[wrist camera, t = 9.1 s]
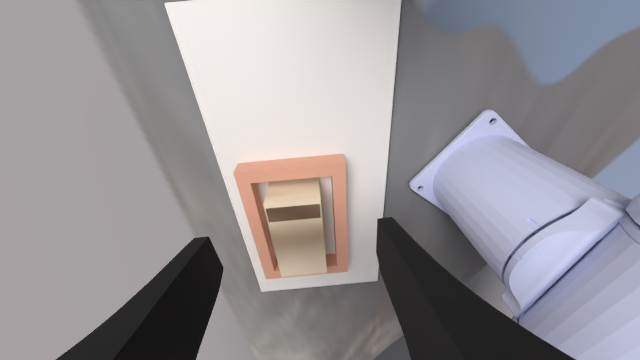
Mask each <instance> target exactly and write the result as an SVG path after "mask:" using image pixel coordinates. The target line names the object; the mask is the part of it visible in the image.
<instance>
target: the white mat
mask: <svg viewBox="0 0 640 360" xmlns="http://www.w3.org/2000/svg"><path fill="white" fill-rule="evenodd" d="M164 4H165V7H166V10H167V13H168V16H169V19H170V22H171V25H172V28H173V31H174V34H175V37H176V39H177V42H178V45H179V48H180V51H181V54H182V57H183V60H184V63H185V66H186V69H187V72H188V75H189V78H190V81H191V84H192V87H193V90H194V93H195V96H196V99H197V102H198V105H199V108H200V111H201V114H202V116H203V119H204V122H205V125H206V128H207V131H208V134H209V137H210V140H211V143H212V146H213V149H214V152H215V155H216V158H217V161H218V164H219V167H220V170H221V173H222V176H223V179H224V182H225V185H226V188H227V190H228V193H229V196H230V199H231V202H232V205H233V208H234V211H235V214H236V217H237V220H238V223H239V226H240V229H241V232H242V235H243V238H244V241H245V244H246V247H247V250H248V253H249V256H250V259H251V262H252V265H253V267H254V270H255V273H256V276H257V279H258V282H259V285H260V288H261V291H262V292H264V291H275V290H285V289H296V288H307V287H317V286H328V285H339V284H349V283H360V282H371V281H378V270H379V263H378V258H377V254H376V240H377V219H379V218H383V210H384V198H385V187H386V175H387V163H388V151H389V139H390V127H391V115H392V104H393V92H394V80H395V68H396V56H397V44H398V33H399V21H400V9H401V0H194V1H182V2H171V3H164ZM331 154H343V156H344V159H345V162H346V207H347V257H348V272H339V273H329V274H318V275H307V276H296V277H286V278H275V279H266V278H265V275H264V271H263V268H262V265H261V262H260V258H259V255H258V252H257V249H256V245H255V242H254V239H253V236H252V233H251V229H250V226H249V223H248V220H247V216H246V213H245V210H244V207H243V203H242V200H241V197H240V194H239V190H238V187H237V184H236V181H235V177H234V174H233V172H234V170H235V168H236V166H237V164H238V163H243V162H254V161H265V160H276V159H287V158H298V157H309V156H320V155H331ZM268 183H269V182H259V183H257V186H258V190H259V194H260V198H261V202H262V206H263V210H264V214H265V218H266V222H267V225H268V221H267V217H266V213H265V209H264V205H263V204H264V200H265V196H266V191H267V187H268ZM319 187H320V198H321V209H322V220H323V232H324V243H325V254H336V253H335V236H334V219H333V202H332V185H331V176H325V177H319ZM268 229H269V225H268ZM269 233H270V229H269ZM270 237H271V233H270ZM271 241H272V237H271ZM272 245H273V241H272ZM273 249H274V245H273ZM274 253H275V249H274ZM275 257H276V253H275ZM276 259H277V257H276Z"/></svg>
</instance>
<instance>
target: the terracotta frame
mask: <svg viewBox="0 0 640 360" xmlns="http://www.w3.org/2000/svg"><path fill="white" fill-rule="evenodd" d="M233 174H234V177H235V181H236V184H237V187H238V190H239V194H240V197H241V200H242V203H243V207H244V210H245V213H246V216H247V220H248V223H249V226H250V229H251V233H252V236H253V239H254V242H255V245H256V249H257V252H258V255H259V258H260V262H261V265H262V268H263V271H264V275H265V278H266V279H275V278H286V277H281V273H280V269H279V265H278V261H277V259H276V257H275V253H274V249H273V245H272V241H271V237H270V233H269V229H268V225H267V222H266V218H265V214H264V210H263V206H262V202H261V198H260V194H259V190H258V186H257V183H259V182H270V181H281V180H292V179H303V178H314V177H325V176H331V185H332V202H333V219H334V236H335V253H336V254H326V265H327V273H320V274H329V273H339V272H348V257H347V207H346V162H345V159H344V156H343V154H331V155H320V156H309V157H298V158H287V159H276V160H265V161H254V162H243V163H238V164H237V166H236V168H235V170H234V172H233ZM310 275H318V274H310ZM299 276H307V275H299ZM288 277H296V276H288Z"/></svg>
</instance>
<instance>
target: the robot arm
mask: <svg viewBox="0 0 640 360" xmlns="http://www.w3.org/2000/svg"><path fill="white" fill-rule="evenodd" d="M491 119H493V121H492V122H491V123H489V122H490V120H491ZM419 186H421V188H418V187H419ZM409 187H410V188H411V189H412V190H413V191H415V192H416V193H418V194H419V195H420V196H422V197H423V198H425V199H426V200H428V201H429V202H431V203H432V204H434V205H435V206H437V207H438V208H440V209H441V210H443V211H444V212H445V213H447V214H448V215H449V216H450V217H451V218H452V220H453V221H454V222H455V223H456V225H457V226H458V227H459V228H460V230H461V231H462V232H463V233H464V235H465V236H466V237H467V238H468V240H469V241H470V242H471V244H472V245H473V246H474V247H475V249H476V250H477V251H478V252H479V254H480V255H481V256H482V257H483V259H484V260H485V261H486V262H487V264H488V265H489V266H490V267H491V268H492V270H493V271H494V272H495V274H496V275H497V276H498V277H499V279H500V280H501V281H502V283H503V284H504V285H505V287H506V288H505V291H504V293H503V294H502V296H501V298H502V300H503V301H504V302H505V303H506V305H507V306H508V308H509V309H510V310H511V312H512V313H513V314H514V316H513V317H512V319H510V318H509V317H507V316H506V315H504V314H503V313H501V312H500V311H498V310H497V309H495V308H494V307H493V306H491V305H490V304H489V303H487V302H486V301H484V300H483V299H482V298H480V297H479V296H478V295H476V294H475V293H474V292H473V291H471V290H470V289H469V288H467V287H466V286H465V285H464V284H462V283H461V282H460V281H459V280H457V279H456V278H455V277H454V276H453V275H451V274H450V273H449V272H448V271H447V270H446V269H444V268H443V267H442V266H441V265H440V264H439V263H438V262H437V261H435V260H434V259H433V258H432V257H431V256H430V255H429V254H428V253H427V252H426V251H425V250H424V249H423V248H422V247H421V246H420V245H419V244H418V243H417V242H415V241H414V239H413V238H412V237H411V236H410V235H409V234H408V233H407V232H406V231H405V230H404V229H403V228H402V227H401V226H400V225H399V224H398V223H397V222H396V221H395V219H393V218H392V217H389V218H379V219H377V240H376V254H377V258H378V263H379V266H380V270H381V274H382V277H383V280H384V282H385V285H386V288H387V291H388V293H389V296H390V299H391V301H392V304H393V306H394V309H395V312H396V314H397V317H398V320H399V322H400V325H401V328H402V331H403V334H404V337H405V339H406V343H407V346H408V350H409V353H410V357H411V360H640V194H639V195H637V196H636V197H634V198H633V199H630V198H628V197H626V196H624V195H622V194H620V193H618V192H616V191H614V190H612V189H610V188H608V187H606V186H604V185H602V184H600V183H598V182H596V181H594V180H592V179H590V178H588V177H586V176H584V175H582V174H580V173H578V172H576V171H574V170H572V169H570V168H568V167H566V166H564V165H562V164H561V163H559V162H557V161H555V160H553V159H551V158H549V157H547V156H545V155H543V154H541V153H539V152H537V151H535V150H533V149H531V148H530V147H529V146H528V145H527V144H526V143H525V142H524V141H523V140H522V139H521V138H520V137H519V136H518V135H517V134H516V133H515V132H514V131H513V130H512V129H511V128H510V127H509V126H508V125H507V124H506V123H505V122H504V121H503V120H502V119H501V118H500V116H499V115H498V114H497V113H496V112H494V111H493V110H490V109H487V110H485V111H483V112H482V113H481V114H480V115H479V116H478V117H477V118H476V119H475V120H474V121H473V122H472V123H470V124H469V125H468V126H467V127H466V128H465V129H464V130H463V131H462V132H461V133H460V134H459V135H458V136H457V137H456V138H455V139H454V140H453V141H452V142H451V143H450V144H449V145H448V146H447V147H445V148H444V149H443V150H442V151H441V152H440V153H439V154H438V155H437V156H436V157H435V158H434V159H433V160H432V161H431V162H430V163H429V164H428V165H427V166H426V167H425V168H424V169H423V170H422V171H421V172H419V173H418V174H417V175H416V176H415V177H414V178H413V179H412V180H411V181H410V183H409ZM417 188H418V189H417ZM222 273H223V266H222V264H221V262H220V260H219V257H218V255H217V253H216V251H215V249H214V247H213V245H212V242H211V240H210V238H209V237H200V238H194V239H193V240H192V241H191V242H190V243H189V244H188V245H187V246H186V247H184V248H183V249H182V250H181V251H180V253H178V254H177V255H176V256H175V257H174V258H173V259H172V260H171V261H170V262H169V263H168V265H166V267H164V268H163V269H162V270H161V271H160V272H159V273H158V274H157V275H156V276H155V277H154V278H153V279H152V280H151V281H150V282H149V283H148V284H147V285H146V286H144V287H143V288H142V289H141V290H140V291H139V292H138V293H137V294H136V295H135V296H133V297H132V298H131V299H130V300H129V301H128V302H127V303H126V304H125V305H124V306H123V307H121V308H120V309H119V310H118V311H117V312H116V313H114V314H113V315H112V316H111V317H110V318H109V319H108V320H106V321H105V322H104V323H102V324H101V325H100V326H99V327H98V328H96V329H95V330H94V331H93V332H91V333H90V334H89V335H88V336H86V337H85V338H84V339H83V340H81V341H80V342H79V343H78V344H76V345H75V346H74V347H72V348H71V349H70V350H68V351H67V352H65V353H64V354H63V355H61V356H60V357H59V358H58V359H56V360H196V357H197V354H198V351H199V347H200V345H201V342H202V339H203V336H204V333H205V330H206V327H207V325H208V322H209V319H210V316H211V313H212V310H213V307H214V304H215V301H216V298H217V295H218V292H219V288H220V283H221V278H222Z"/></svg>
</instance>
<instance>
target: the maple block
mask: <svg viewBox="0 0 640 360" xmlns="http://www.w3.org/2000/svg"><path fill="white" fill-rule="evenodd" d="M263 205H264V209H265V213H266V217H267V221H268V225H269V229H270V233H271V237H272V241H273V245H274V249H275V253H276V257H277V261H278V265H279V269H280V273H281V277H288V276H299V275H310V274H320V273H327V265H326V254H325V243H324V232H323V220H322V209H321V198H320V187H319V177H314V178H303V179H292V180H281V181H270V182H269V183H268V187H267V191H266V196H265V200H264V204H263Z"/></svg>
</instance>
